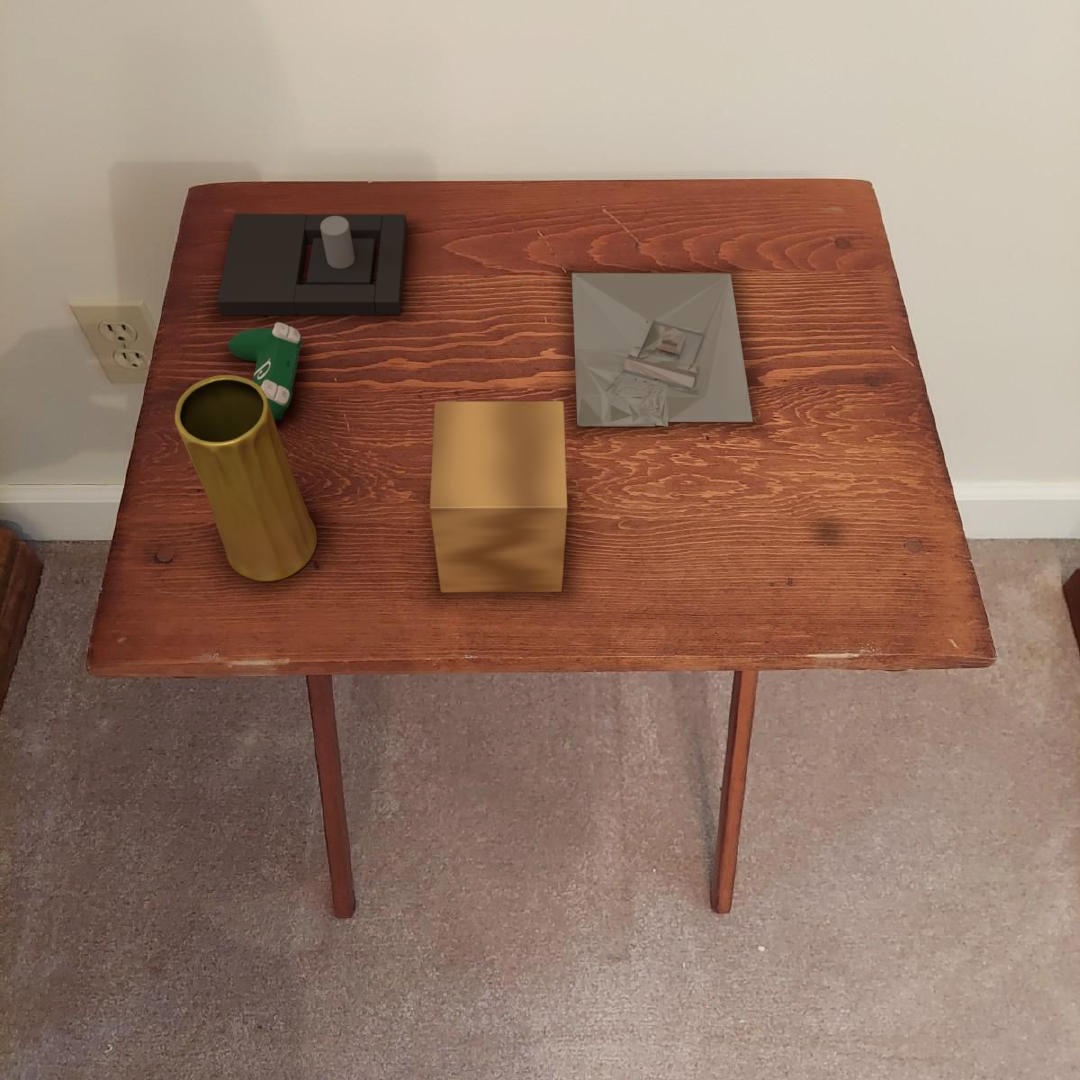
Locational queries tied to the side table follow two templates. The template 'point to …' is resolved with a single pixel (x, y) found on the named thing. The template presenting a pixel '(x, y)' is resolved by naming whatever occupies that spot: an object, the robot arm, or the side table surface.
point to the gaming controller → (271, 361)
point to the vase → (246, 477)
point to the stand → (499, 495)
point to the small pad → (344, 275)
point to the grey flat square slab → (657, 350)
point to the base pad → (278, 262)
